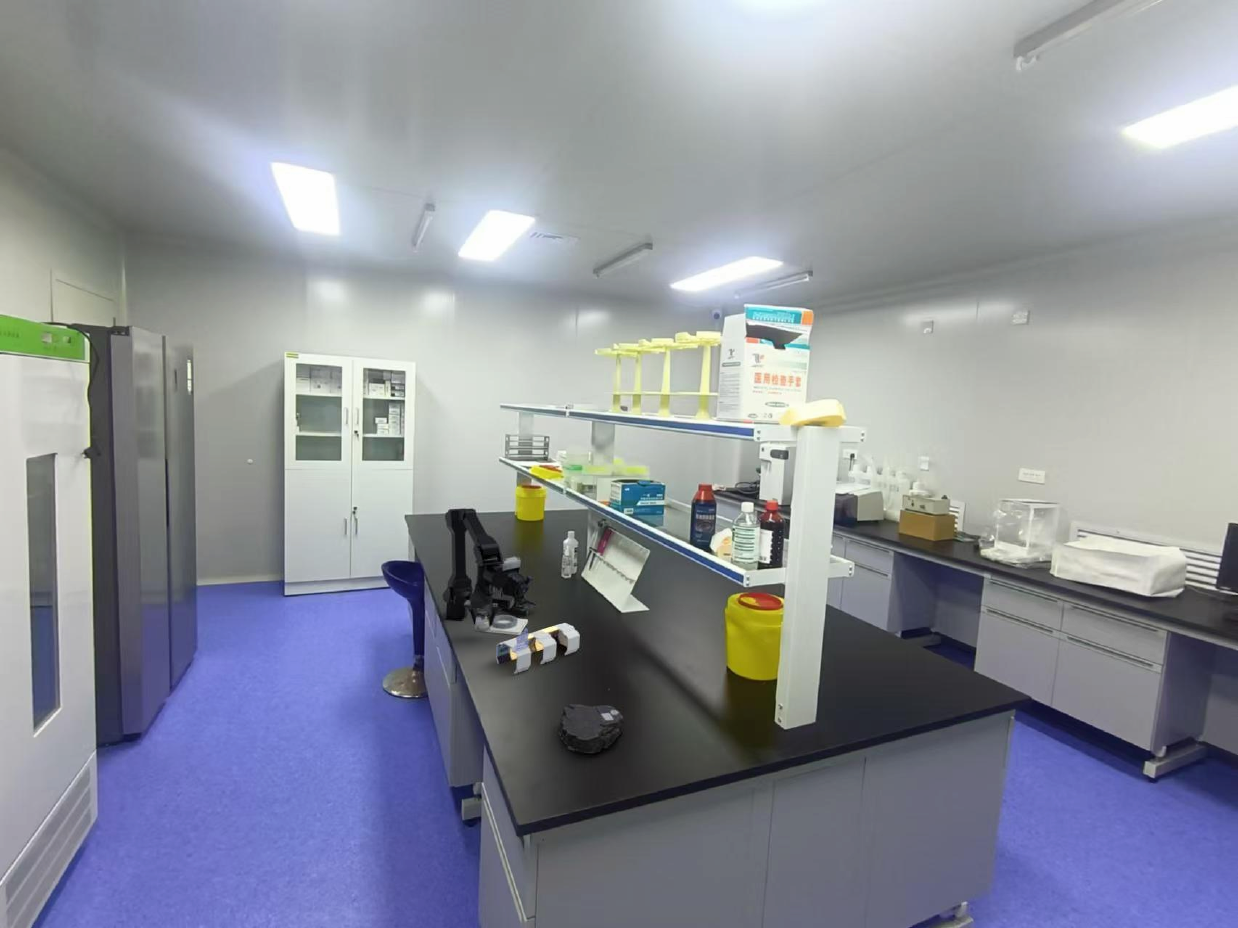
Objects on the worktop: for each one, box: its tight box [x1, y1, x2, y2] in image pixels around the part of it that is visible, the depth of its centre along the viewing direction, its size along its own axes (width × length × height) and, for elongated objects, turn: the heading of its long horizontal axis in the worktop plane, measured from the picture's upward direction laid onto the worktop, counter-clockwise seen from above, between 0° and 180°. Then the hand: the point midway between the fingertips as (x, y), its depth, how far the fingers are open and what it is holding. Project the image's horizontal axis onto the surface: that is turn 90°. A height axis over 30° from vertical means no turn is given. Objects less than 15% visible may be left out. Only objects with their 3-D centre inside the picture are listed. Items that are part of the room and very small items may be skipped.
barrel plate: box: [482, 614, 529, 636], centre depth 197 cm, size 14×12×2 cm
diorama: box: [495, 622, 581, 675], centre depth 174 cm, size 25×10×13 cm, turn 138°
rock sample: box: [558, 703, 625, 754], centre depth 135 cm, size 18×16×5 cm
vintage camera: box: [493, 555, 538, 616], centre depth 211 cm, size 10×15×20 cm, turn 53°
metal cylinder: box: [474, 610, 491, 632], centre depth 184 cm, size 5×5×5 cm
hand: (483, 625), depth 185 cm, fingers closed on metal cylinder, 5 cm apart
